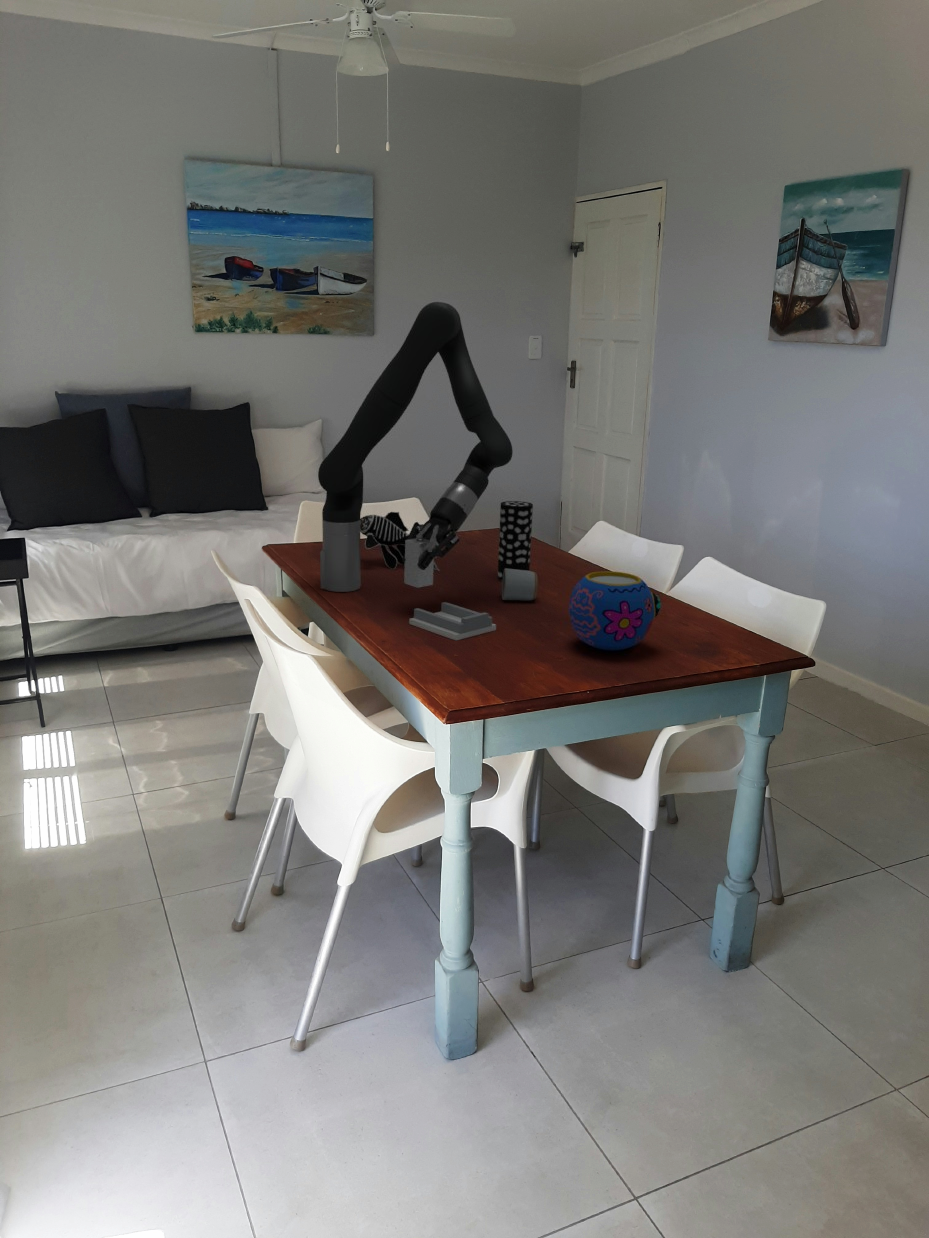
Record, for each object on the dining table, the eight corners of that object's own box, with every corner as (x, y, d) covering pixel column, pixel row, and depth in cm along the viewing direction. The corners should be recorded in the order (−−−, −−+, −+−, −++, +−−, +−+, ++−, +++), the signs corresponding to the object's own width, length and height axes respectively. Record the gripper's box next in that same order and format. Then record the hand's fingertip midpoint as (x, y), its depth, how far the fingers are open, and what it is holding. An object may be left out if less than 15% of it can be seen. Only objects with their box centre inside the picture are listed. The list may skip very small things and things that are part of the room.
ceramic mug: (537, 604, 233) (539, 572, 231) (503, 603, 232) (504, 572, 230) (532, 593, 243) (533, 563, 241) (499, 592, 242) (501, 562, 240)
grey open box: (409, 624, 214) (409, 605, 213) (449, 614, 222) (449, 596, 221) (456, 640, 203) (456, 621, 202) (496, 629, 211) (496, 611, 210)
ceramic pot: (669, 652, 200) (676, 582, 196) (602, 665, 191) (608, 592, 187) (613, 630, 214) (618, 564, 210) (549, 641, 205) (553, 572, 201)
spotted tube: (492, 580, 253) (496, 504, 247) (503, 573, 260) (507, 500, 255) (523, 584, 250) (526, 507, 244) (533, 577, 257) (537, 503, 252)
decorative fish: (366, 544, 276) (376, 494, 270) (448, 575, 267) (460, 524, 262) (337, 555, 262) (347, 502, 257) (422, 588, 253) (434, 534, 248)
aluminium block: (404, 583, 220) (405, 538, 217) (419, 580, 223) (420, 536, 220) (417, 587, 216) (419, 542, 213) (432, 584, 220) (434, 539, 216)
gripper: (425, 491, 224) (383, 549, 219) (468, 501, 214) (425, 561, 209) (441, 512, 229) (400, 568, 224) (483, 522, 219) (442, 582, 215)
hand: (412, 565), depth 217 cm, fingers closed on aluminium block, 4 cm apart
